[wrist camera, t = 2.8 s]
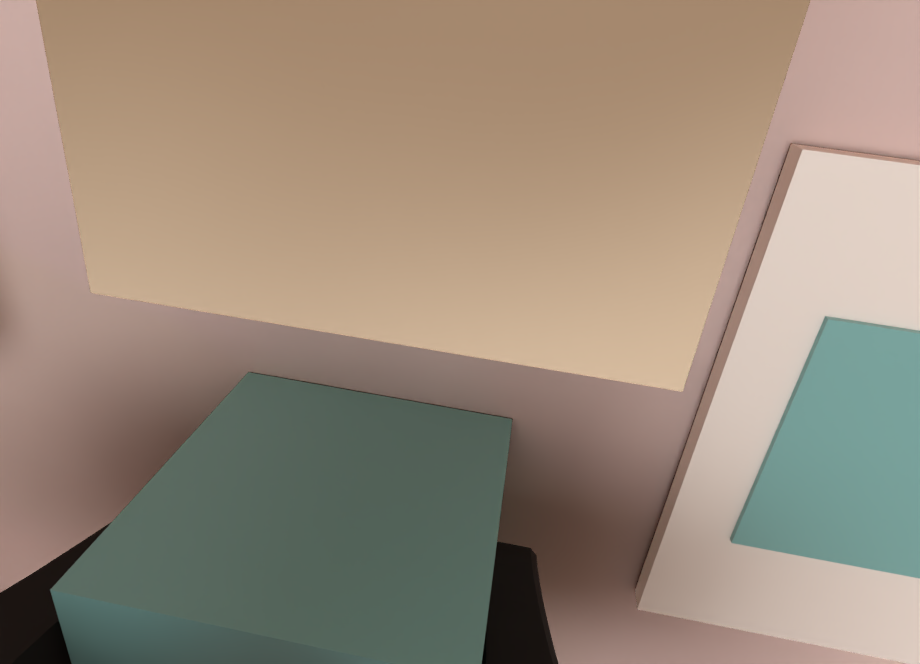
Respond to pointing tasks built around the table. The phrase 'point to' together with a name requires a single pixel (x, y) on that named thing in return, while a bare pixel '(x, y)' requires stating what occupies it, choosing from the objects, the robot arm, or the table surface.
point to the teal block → (301, 538)
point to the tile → (810, 426)
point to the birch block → (424, 165)
